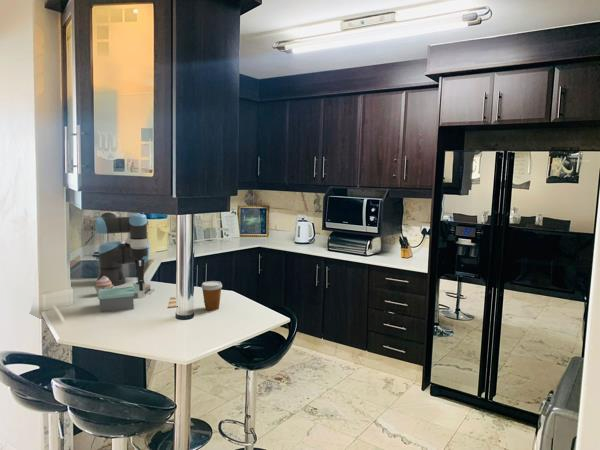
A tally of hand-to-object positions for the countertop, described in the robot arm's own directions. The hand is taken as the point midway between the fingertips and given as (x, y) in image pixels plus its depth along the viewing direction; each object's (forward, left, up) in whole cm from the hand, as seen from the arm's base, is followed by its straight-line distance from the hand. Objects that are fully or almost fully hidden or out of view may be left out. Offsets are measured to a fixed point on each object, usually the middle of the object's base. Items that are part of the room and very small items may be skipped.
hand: (140, 294), depth 212 cm
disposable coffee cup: (+15, +30, -6) cm, 35 cm away
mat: (-1, +10, -6) cm, 11 cm away
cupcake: (-27, -16, -6) cm, 32 cm away
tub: (0, -10, -6) cm, 12 cm away
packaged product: (-20, 0, -7) cm, 21 cm away
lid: (0, -8, +1) cm, 8 cm away
